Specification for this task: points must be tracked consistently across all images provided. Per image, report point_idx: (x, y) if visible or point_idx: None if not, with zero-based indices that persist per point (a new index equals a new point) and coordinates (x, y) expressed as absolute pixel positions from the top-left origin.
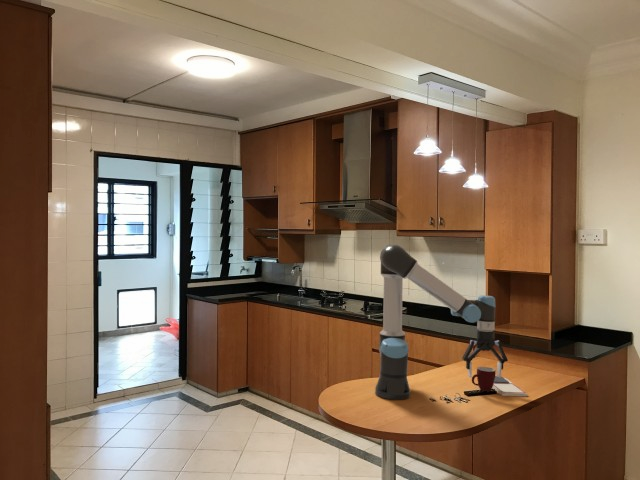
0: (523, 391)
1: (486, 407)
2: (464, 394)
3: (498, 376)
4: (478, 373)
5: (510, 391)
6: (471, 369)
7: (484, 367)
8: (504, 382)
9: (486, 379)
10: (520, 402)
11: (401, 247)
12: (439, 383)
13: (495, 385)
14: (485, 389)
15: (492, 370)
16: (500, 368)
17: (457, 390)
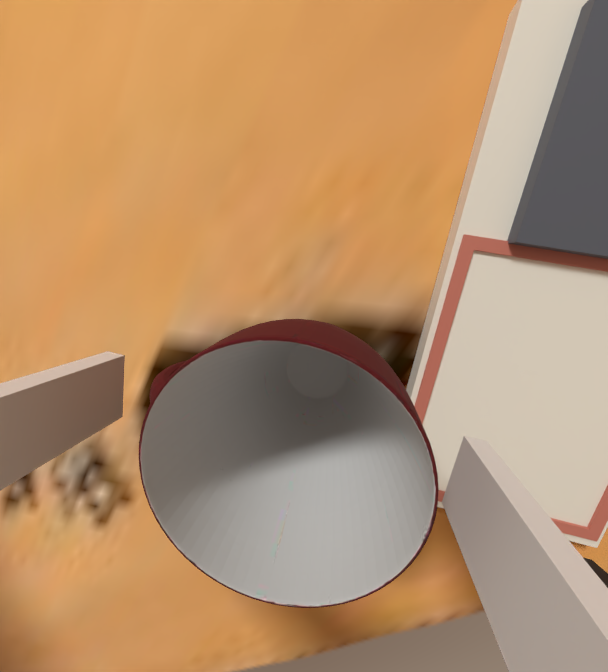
0: (603, 508)
1: (171, 603)
2: (137, 410)
3: (451, 479)
4: (175, 446)
5: None
6: (27, 471)
7: (330, 348)
8: None
9: (259, 490)
10: (420, 601)
11: None
12: (43, 147)
13: (463, 314)
14: (290, 414)
15: (420, 448)
16: (514, 645)
17: (121, 329)
